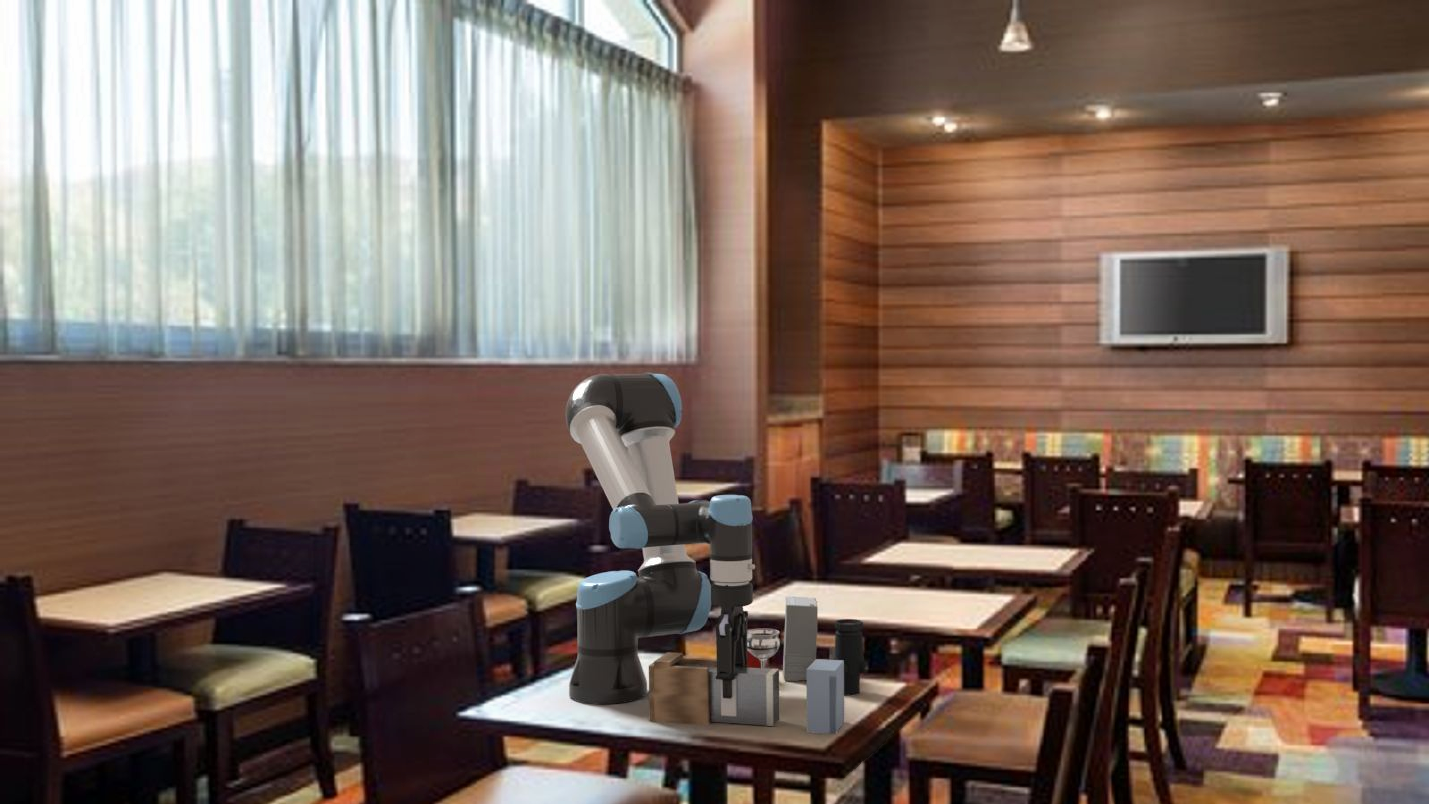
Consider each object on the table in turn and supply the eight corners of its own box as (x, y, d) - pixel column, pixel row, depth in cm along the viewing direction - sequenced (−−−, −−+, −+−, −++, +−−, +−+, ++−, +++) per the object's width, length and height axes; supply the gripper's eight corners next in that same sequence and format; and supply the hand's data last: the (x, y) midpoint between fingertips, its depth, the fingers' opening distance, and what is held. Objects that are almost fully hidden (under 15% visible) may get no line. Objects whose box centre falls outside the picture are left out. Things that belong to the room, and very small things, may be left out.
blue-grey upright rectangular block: (806, 732, 229) (806, 669, 229) (816, 720, 237) (816, 659, 236) (835, 734, 228) (834, 670, 227) (844, 721, 235) (843, 660, 235)
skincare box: (782, 672, 274) (781, 595, 273) (817, 671, 273) (816, 595, 273) (783, 682, 265) (782, 603, 265) (819, 681, 265) (818, 603, 264)
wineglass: (786, 696, 254) (785, 633, 254) (753, 699, 252) (752, 636, 251) (772, 687, 260) (772, 627, 260) (740, 691, 258) (739, 630, 258)
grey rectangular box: (660, 718, 238) (659, 668, 238) (668, 711, 243) (667, 662, 243) (773, 726, 232) (772, 674, 232) (779, 719, 237) (779, 668, 237)
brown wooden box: (649, 720, 237) (648, 661, 237) (663, 709, 245) (662, 652, 244) (707, 725, 234) (707, 664, 234) (720, 713, 242) (719, 655, 241)
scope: (829, 615, 262) (876, 619, 257) (829, 684, 263) (876, 690, 258) (811, 622, 255) (859, 627, 250) (812, 693, 255) (860, 699, 251)
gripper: (738, 591, 227) (740, 726, 227) (764, 575, 244) (765, 700, 244) (696, 589, 229) (698, 723, 230) (725, 573, 246) (726, 698, 246)
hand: (733, 711), depth 237 cm, fingers closed on grey rectangular box, 4 cm apart
